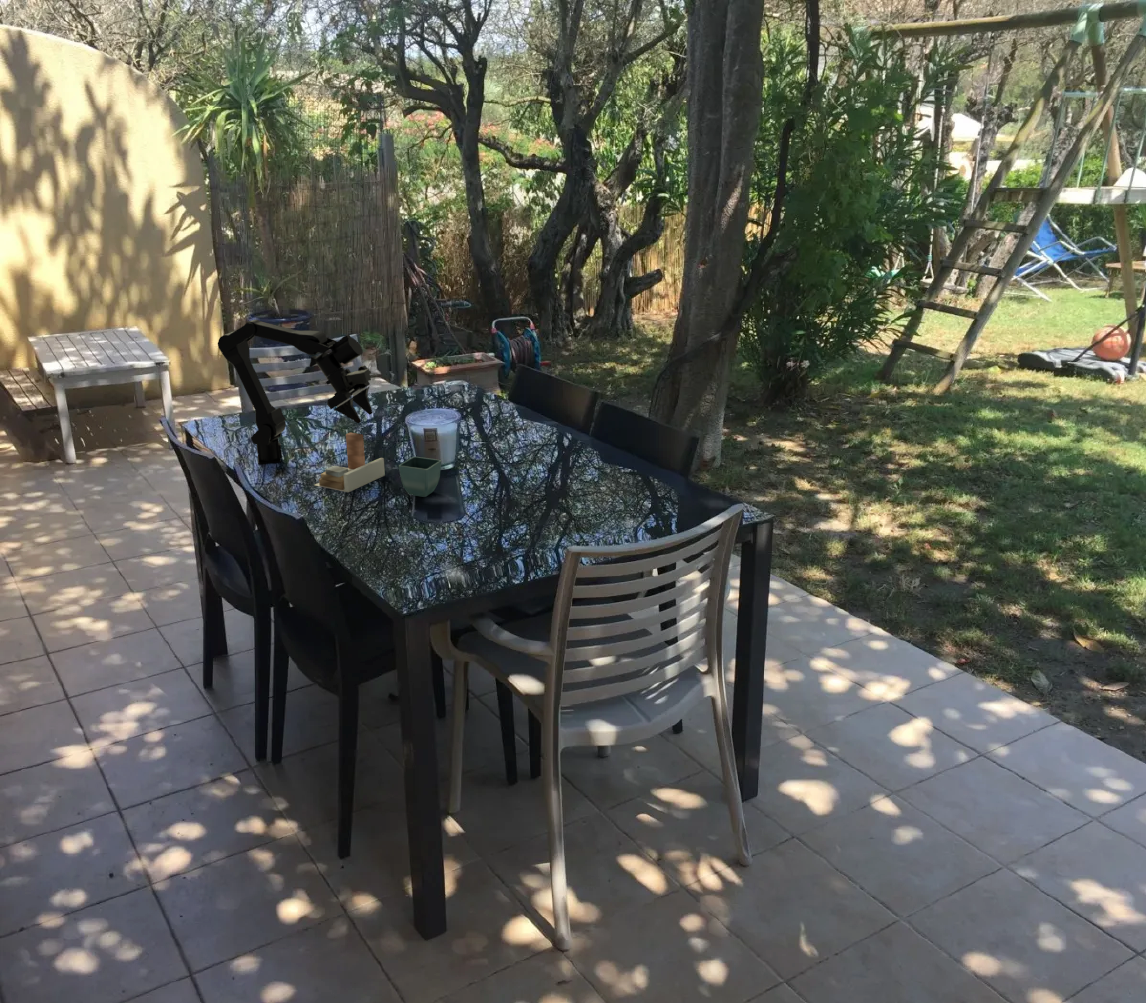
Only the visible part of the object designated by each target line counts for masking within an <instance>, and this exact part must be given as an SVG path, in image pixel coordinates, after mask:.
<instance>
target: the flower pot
mask: <svg viewBox="0 0 1146 1003" xmlns="http://www.w3.org/2000/svg"><path fill="white" fill-rule="evenodd" d="M441 467H442V460H441V459H436V458H428V457H422V456H421V457H419V456H412V457H410V458H408V459H407V460H405V461H404V462H402V463H400V464H399V465H398V470H399V476H400V481H401V484H402V486H403V488H404V490H405V491H406V492H407V494H408V495H410V496H413V497H414V496H415V497H420V498H421V497H423V498H426V497H428V496H429V495H430V494H432V493H433V492H434V491H435V489H436V488H437V485H438V484H439V481H440V477H441Z"/></svg>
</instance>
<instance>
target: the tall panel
mask: <svg viewBox="0 0 1146 1003" xmlns="http://www.w3.org/2000/svg"><path fill="white" fill-rule="evenodd" d="M345 441H346V442H345V443H346V454H347V468H349V469H356V468H358V467H361V466H363V465H365V464H366V458H365V443H364V434H361V433H355V432H348V433H346V434H345Z"/></svg>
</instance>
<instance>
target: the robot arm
mask: <svg viewBox="0 0 1146 1003" xmlns="http://www.w3.org/2000/svg"><path fill="white" fill-rule="evenodd" d="M255 337H258V338H262V339H267V340H270V341H273V342H278V343H282V344H286V345H289V346H292V347H294V348H295V349H297V350H298V351H300V352H302V353H304V354H306V355H310V356H311V357H310V363H309V367H310V368H313V367H314V366H318V368H319V369H320V371H321V372H322V374H323V376H324V377H325V378H326V381H325V383H326V385H327V386H328V385H330V386H331V387H332V389H333V390H334V392H335V393H334V394H333V396H332V397H330V398H329V399H327V404H326V405H327V406H328V407H329V409H330V410H334V411H336V412H338V413H340V414H342V415H343V416H346V417H347V418H348V419H350V420H352V421H353V422H355V423H356V424H360V423H361V422H362V419H361V418H360V415H359V414H358V412H357V410H356V408H355V406H354V403H355V404H357V406H358V407H360V408H361V409H362V410H363V411H364V412H365V413H367V414H368V415H372V414H373V409H372V406H371V402H370V400H369V396H368V393H369V389H370V385H371V383H370V382H369V381H372V378H371V374H372V371H371V370H370V368H368V367H367V366H366V365H365V364H364V365H360V366H359V367H358V369H357V370H355V371H351V370H350V369H349V368H346V369H345V368H344V367H343V365H342V364H344V365H348V364H349V363H350V362H352V361H354V360H355V359H356V358H358V357H360V356H361V355H363V352H364V351H363V347H362V345H361V343H359V341H357V340H356V339H355V338H353V337H351V335H350V333H349V334H347V333H346V334H345V335H344V336H342V337H341V338H340V339H339V340H335V339H332V338H330V337H328V336H326V334H325V333H324V332H323V331H320V330H319V331H318V330H296V329H292V328H288V327H284V326H280V325H275V324H272V323H268V322H264V321H261V320H259V319H252V320H250V321H247V322H246V323H244V325H243V326H240V327H238V329H236V330H234V331H231V332H228V333H225V334H224V335H221V336H220V337H219V339H218V341H217V348H218V350H219V351H220V352H221V354H222V356H223V357H224V358H225V360H227V361H228V362H229V363H230V364H231V365H232V366H233V367H234V370H235V371H236V373H237V375H238V378H239V379H240V381H241V384H242V386H243V388H244V390H245V392H246V395H247V396H248V398H249V400H250V402H251V405H252V407H253V409H254V411H255V412H254V413H255V424H256V427H257V430H256V431H255V433H254V434H252V436H251V437H250V439H251V441H252V444H253V445H256V450H257V452H256V453H257V462H258V465H263V464H273V463H274V464H275V463H281V462H282V460H281V459H282V458H283V452H282V445H281V443H280V442H279V438H281V437H282V433H283V432H284V431H285V429H286V428H287V423H286V421H287V418H286V417H285V415H284V413H283V411H282V409H281V407H278V408H276V407H274V405H272V404H271V402H270V400H269V397H268V395H267V394H266V392H265V391H266V390H265V389H264V387H263V386H262V383H261V381H260V379H259V377H258V374H257V372H256V370H255V367H254V366H253V363H252V362H251V358H250V357H251V356H250V353H251V352H250V346H249V341H251V340H252V339H254V338H255ZM330 351H331V352H330ZM328 352H329V353H328ZM316 354H319V355H318V356H315V355H316Z"/></svg>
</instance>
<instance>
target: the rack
mask: <svg viewBox="0 0 1146 1003" xmlns="http://www.w3.org/2000/svg"><path fill="white" fill-rule="evenodd" d="M342 467H343V466H342ZM343 468H346V469H348V472H347V473H345V474H343V475H344V487H345V489H344V490H339V489H335V488H330V487H325V486H320V485H319V482H318V483H315V484H314V486H315V487H321V488H325V489H330V490H336V491H340V492H344V493H350V492H353V491H354V490H356V489H358V488H361V487H363V486H365V485H367V484H369V483H371V482H374V481H375V480H378V479H380V478H382V477H385V476H386V474H385V471H386V470H385V458H384V457H380V458H377V459H375V460H373V461H370V462H368V463H365V465H363V466H361V467H358V468H356V469H349V468H348V467H343Z"/></svg>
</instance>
